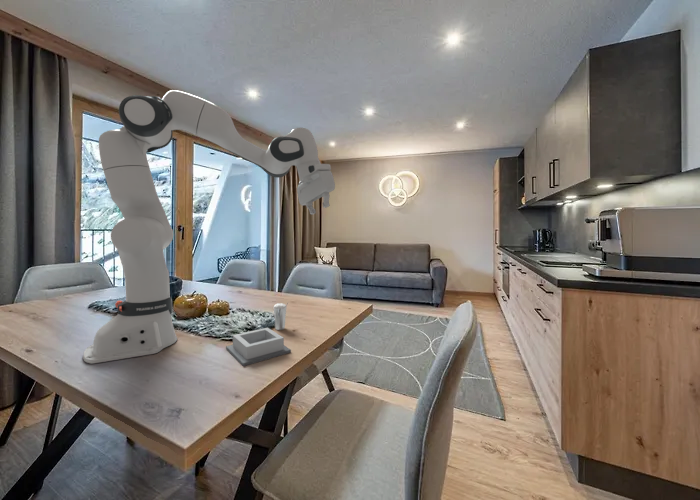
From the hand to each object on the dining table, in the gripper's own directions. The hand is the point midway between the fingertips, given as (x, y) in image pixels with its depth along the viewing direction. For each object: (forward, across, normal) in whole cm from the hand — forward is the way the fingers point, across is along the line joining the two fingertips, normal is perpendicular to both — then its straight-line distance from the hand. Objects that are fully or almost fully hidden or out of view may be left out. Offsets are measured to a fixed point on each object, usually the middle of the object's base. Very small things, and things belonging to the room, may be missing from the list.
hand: (319, 210), depth 106 cm
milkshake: (+38, -15, -18) cm, 45 cm away
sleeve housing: (+39, -2, -32) cm, 51 cm away
